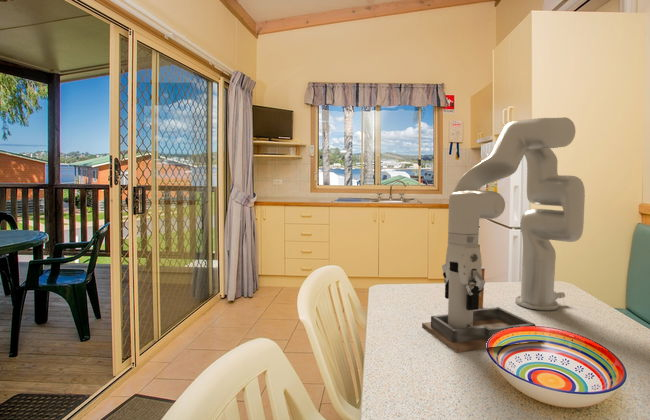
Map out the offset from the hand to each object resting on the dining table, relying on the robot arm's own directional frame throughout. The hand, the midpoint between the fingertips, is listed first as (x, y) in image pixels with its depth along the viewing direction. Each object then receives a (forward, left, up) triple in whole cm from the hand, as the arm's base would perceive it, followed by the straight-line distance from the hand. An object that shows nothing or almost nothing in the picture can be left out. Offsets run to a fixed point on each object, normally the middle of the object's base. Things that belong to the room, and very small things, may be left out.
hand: (460, 303), depth 105 cm
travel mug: (0, 0, -8) cm, 8 cm away
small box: (-18, -22, -9) cm, 30 cm away
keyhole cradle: (-6, 0, -9) cm, 11 cm away
